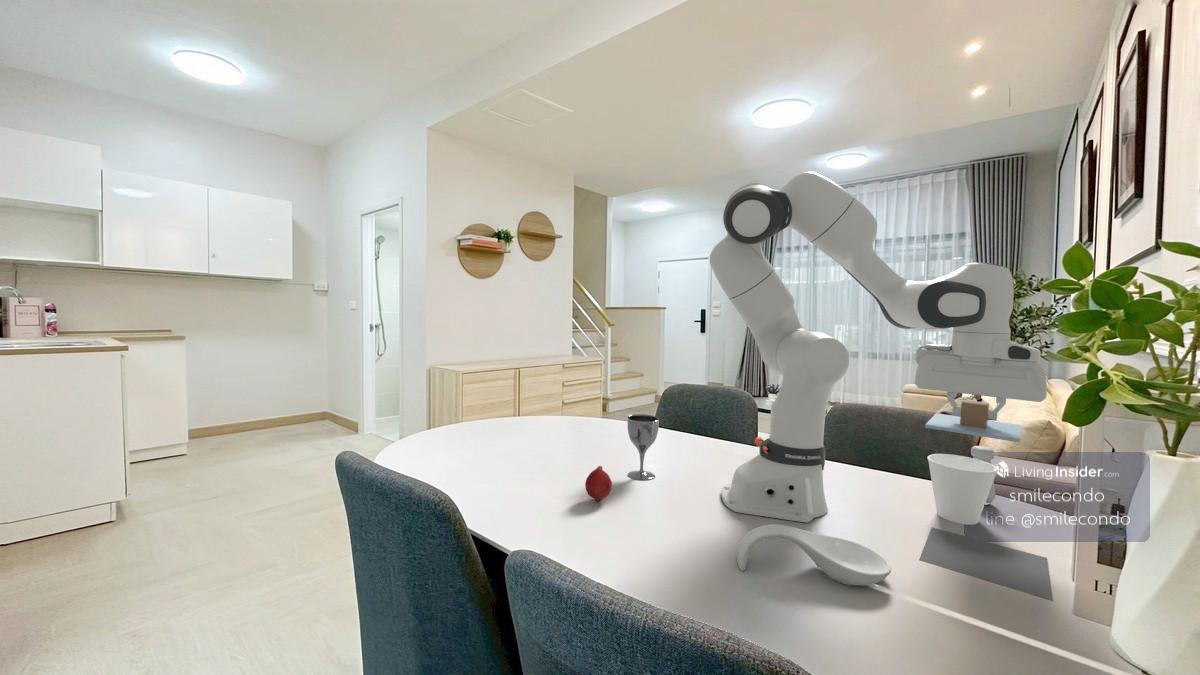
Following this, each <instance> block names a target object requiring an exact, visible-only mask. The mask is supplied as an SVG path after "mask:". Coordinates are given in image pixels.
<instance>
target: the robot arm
mask: <svg viewBox="0 0 1200 675" xmlns="http://www.w3.org/2000/svg"><path fill="white" fill-rule="evenodd" d="M722 219H723V225H724V229H725V230H726V232H727V234H726V236H725V237H724V238H723V239H722V240H720V241H719V242H718V243H717V244H715V246H714V247H713V249H712V250H711V252H710V254H709V264H710V266H711V267H710V268H711V270H712V271H713V273H714V276H715V278H716V280H717V281H718V284H719V285H720V287H721V288H722V290H723V292H724V294H725V295H726V297H727V298H728V299H729V301H730V303H731V304H732V305H733V306H734V308H735V309H736V311H737V313H738V314H739V315H740V317H741V318H742V319H743V321H744V322H745V324H746V326H747V327H748V329H749V331H750V333H751V334H752V337H753V339H754V342H755V344H756V346H757V347H758V350H759V354H760V358H761V360H762V361H763V364H765V365H766V366H767V367H768V368H769V369H770V370H771V371H772V372H774V373H775V374H778V375H780V376H782V382H781V385H780V387H779V392H778V394H777V397H776V398H775V399H774V400H773V402H772V403H771V406H770V421H769V437H768V438H766V439H763V438H762V437H760V436H756V437H755V439H754V444H755V445H756V447H757V448H759V451H758V452H759V454H757V455H755V456H754V457H753V458H751V459H750V460H747V461H746V462H744V463H742V464H741V465H738V467H737V468H736V469H735V470H734V473H733V477H732V481H731V484H725V485H724V486H723V487H722V488H721V493H720V496H721V500H722V502H723V504H724V505H725V506H726V507H728V509H730V510H731V511H733V512H736V513H739V514H740V513H741V514H747V515H751V516H759V517H760V516H761V517H766V518H767V517H768V518H774V519H781V520H786V521H793V522H800V523H801V522H802V523H811V521H812V520H813V519H815V518H818V517H822V516H824V515H826V514H827V513H828V511H829V510H828V504H827V500H826V496H825V490H824V489H825V488H824V479H823V477H824V476H823V475H824V473H823V471H825V464H826V445H824V437H825V436H824V434H825V422H826V413H827V407H828V403H829V400H830V397H831V395H832V393H833V390H834V388H835V385H836V383H837V382H838V381H840V380H841V379H842V378H844V376H845V374H846V372H847V371H848V369H849V365H850V354H849V352H848V349H847V347H846V346H845V345H844V343H843V342H841V341H840V340H838V339H836V338H835V337H834V336H831V335H829V334H827V333H825V332H820V331H812V330H807V329H806V328H805V327H804V326H803V325H802V324H801V322H800V320H799V318H798V315H797V313H796V310H795V299H794V297H793V295H792V294H791V292H790V289H788V288H787V286H786V284H785V283H784V282H783V280H782V278H780V276H779V274H778V273H777V272H776V270H775V268H774V266H772V264H771V263H770V261H769V260H768V258H767V257H766V255H765V253H764V251H763V249H762V243H763V242H765V241H767V240H769V239H770V238H772V237H774V236H775V235H777V234H778V233H781V231H783V230H785V229H786V228H791V229H793V230H795V231H796V232H798V233H799V234H801V235H802V236H803V237H804V238H805V239H806V240H808V241H809V243H811V244H812V245H814V246H815V247H816V248H818V249H819V250H820V251H822V253H824V254H825V255H827V257H829V258H831V259H832V261H833V260H834V262H835V263H837V264H838V265H839V266H840V267H842V269H844V271H845V272H847V273H848V274H849V276H851V277H852V278H853V279H854V280H855V281H856V282H857V283H859V285H860V286H862V287H863V289H865V290H866V291H867V292H868V293H869V294H870V295H871V296H872V298H874V299H875V300H876V302H877V304H878V306H879V308H880V310H881V313H882V314H883V316H884V318H885V319H886V320H887V322H889V323H890V324H891V325H893V326H894V327H897V328H899V329H902V330H903V329H906V330H908V329H909V330H910V329H911V330H912V329H923V330H924V329H925V330H946V329H952V337H951V338H952V339H951V345H947V344H946V345H945V344H938V345H937V344H931V343H930V344H924V345H923V346H919V347H918V348H917V349H916V351H915V362H916V364H917V368H916V371H915V378H914V384H915V386H916V388H918V389H921V390H930V391H939V392H946V398H947V400H948V403H949V404H950V406H951V407H952V412H951V415H952V416H959V417H961V405H958V403H957V402H956V399H955V398H956V397H957V394H965V395H971V396H972V395H974V396H982V397H983V396H984V397H989V398H991V397H992V398H995V400H996V401H995V402H996V404H997V406H995V407H994V409H989V410H988V413H987V415H988V416H987V420H988V421H995V422H998V414H999V412H1000V411H1001V409H1003V408H1004V406H1006V403H1007V399H1009V400H1017V401H1026V402H1036V403H1042V402H1044V400H1046V399H1047V395H1048V392H1047V377H1046V371H1045V368H1044V366H1043V365H1042V364H1041V363H1040V362H1039V360H1040V358H1041V353H1042V352H1041V351H1040V349H1038V348H1037V347H1034V346H1030V345H1027V344H1024V343H1022V342H1019V341H1017V342H1016V341H1013V340H1011V335H1012V334H1011V332H1012V330H1011V328H1010V317H1011V315H1012V313H1013V308H1014V293H1015V292H1014V289H1015V288H1014V281H1013V280H1014V279H1013V276H1012V273H1011V271H1010V270H1009V269H1008V268H1007V267H1005V266H1004V265H1000V264H997V263H991V262H978V261H977V262H968V263H965V264H963V265H962V266H961V267H959V268H958V269H956V270H954V271H952V272H950V273H949V274H946V275H943V276H939V277H937V278H934V279H930V280H924V281H923V280H922V281H920V280H919V281H916V280H915V281H914V280H909V279H906V278H904V277H902V276H900V275H899V274H898V273H896V271H894V270H893V269H892V268H891V267H890V266H889V264H887V263H886V262H885V261H884V260H883V259H882V258H881V257H879V256H878V255H877V253H876V252H875V249H874V247H873V244H874V242H875V240H876V236H877V232H878V223H877V222H878V221H877V219H876V217H875V215H873V213H872V212H871V210H869V208H867V206H866V205H865V204H863V203H862V202H861V201H860V200H859V199H858V198H856V197H855V196H854V195H853V194H851V193H850V192H848V191H847V190H846V189H845V188H843V187H842V186H841V185H839V184H837V183H836V182H834V181H832V180H831V179H828V178H827V177H825V176H823V175H821V174H819V173H817V172H815V171H805V172H802V173H799V174H797V175H796V176H793V178H791V179H790V180H789V181H788V182H787V183H786V184H785V185H784V186H783V187H781V188H779V189H772V188H771V187H769V186H767V185H765V184H762V183H749V184H745V185H744V186H741V187H739V188H738V189H736V190H735V191H733V192H732V194H731V195H730V196H729V198H728V200H727V201H726V204H725V207H724V210H723V217H722Z"/></svg>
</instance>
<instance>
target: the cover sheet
mask: <svg viewBox="0 0 1200 675" xmlns="http://www.w3.org/2000/svg"><path fill="white" fill-rule="evenodd" d="M960 406H961V416H958V415H952V414H944V413H937V412H936V413H935V414H934V415H933V416H932V417H931V418H930V419H928V421H927V422H926V423H925V425H924V427H925V429H932V430H939V431H944V432H945V431H946V432H951V433H952V432H953V433H957V434H964V435H970V436H975V437H976V436H977V437H982V438H989V439H994V440H995V439H996V440H1001V441H1007V442H1014V443H1021V435H1022V434H1021V433H1022V426H1023V425H1021V424H1017V423H1016V424H1015V423H1008V422H1003V421H1001V422H1000V421H994V420H987V416H988V415H987V413H988V410H990V409H989V408H990V403H989V402H985V401H984V402H983V401H978V400H977V401H976V400H975V401H974V400H967V399H963V400H962V401H961V405H960Z"/></svg>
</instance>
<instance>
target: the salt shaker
mask: <svg viewBox="0 0 1200 675" xmlns="http://www.w3.org/2000/svg"><path fill="white" fill-rule="evenodd" d="M970 454H971V456H972V458H974V459H978V460H981V461H984V462H987V463H990V464H992V461H991V460H994V459H995V450H993V448H991V447H989V446H988V447H987V446H984V445H973V446H972V447H971V449H970ZM994 481H995V480H994ZM994 481H993V483H992V486H991V489H990V492H989V494H988V497H987V500H986V502H987V503H990V504H991V503H993V501H994V500H995V499H996V490H995V488H996V487H995V483H994Z"/></svg>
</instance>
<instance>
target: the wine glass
mask: <svg viewBox="0 0 1200 675" xmlns="http://www.w3.org/2000/svg"><path fill="white" fill-rule="evenodd" d="M659 425H660V419H659V417H658V416H656V415H651V414H644V413H641V414H640V413H639V414H635V413H634V414H630V415H628V416H627V433H628V438H629V440H630V442H631V443H632V445H634V447H635V448H636V449H637V452H638V454H639V462H640V463H639V467H640V468H639V469H638V470H632V471H630V472H627V477H628V478H630V479H632V480H636V481H640V482H641V481H644V482H645V481H646V482H647V481H651V480H654V479H655V478H656V474H654V473H653V472H651V471H647V470H644V462H645V461H644V460H645V456H646V453H647V451H648V449H649V448H651V446H652V445H653V444H654V443H655V441H656V440H657V438H658V434H659V427H660V426H659Z"/></svg>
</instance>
